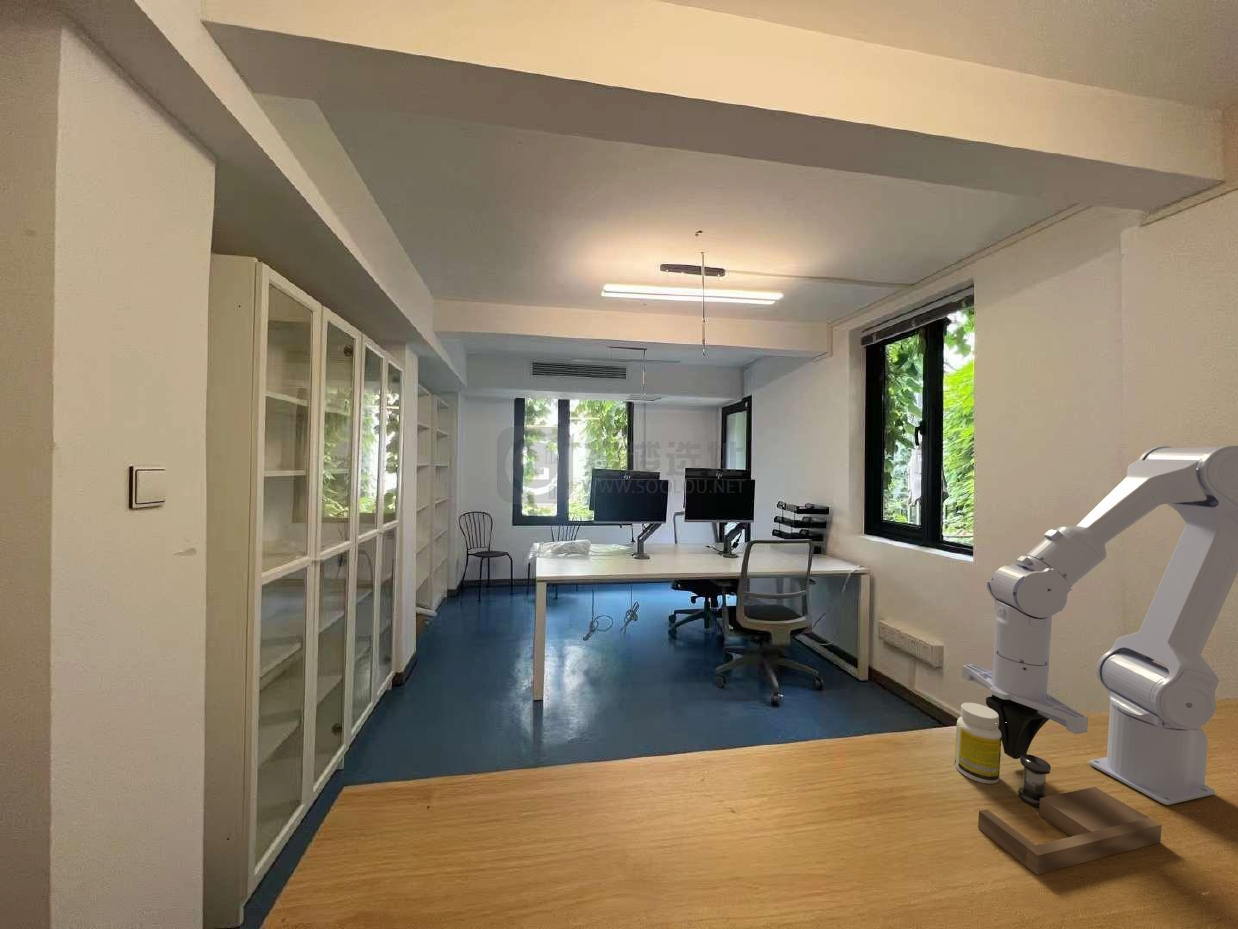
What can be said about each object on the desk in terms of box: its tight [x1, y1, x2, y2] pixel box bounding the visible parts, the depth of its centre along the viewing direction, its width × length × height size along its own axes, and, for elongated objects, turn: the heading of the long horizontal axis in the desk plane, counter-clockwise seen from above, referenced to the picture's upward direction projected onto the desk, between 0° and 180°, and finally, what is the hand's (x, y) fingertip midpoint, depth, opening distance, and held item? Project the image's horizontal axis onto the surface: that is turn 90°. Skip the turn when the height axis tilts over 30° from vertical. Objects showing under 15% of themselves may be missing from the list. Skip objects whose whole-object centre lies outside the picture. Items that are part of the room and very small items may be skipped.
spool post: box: [1017, 753, 1052, 809], centre depth 58 cm, size 3×3×5 cm
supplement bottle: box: [954, 702, 1002, 784], centre depth 63 cm, size 5×5×8 cm
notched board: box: [977, 786, 1163, 876], centre depth 53 cm, size 18×6×2 cm, turn 105°
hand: (1014, 755), depth 65 cm, fingers closed
